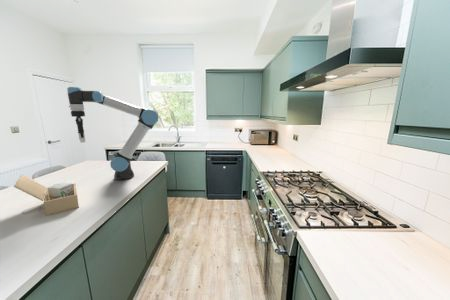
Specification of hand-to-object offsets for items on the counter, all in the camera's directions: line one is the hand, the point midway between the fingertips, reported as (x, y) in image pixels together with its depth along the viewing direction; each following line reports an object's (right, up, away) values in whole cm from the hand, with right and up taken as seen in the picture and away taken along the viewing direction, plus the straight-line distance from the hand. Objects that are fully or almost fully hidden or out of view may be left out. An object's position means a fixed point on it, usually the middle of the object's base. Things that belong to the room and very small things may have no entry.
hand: (82, 141), depth 136 cm
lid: (-6, -27, -29) cm, 40 cm away
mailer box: (+2, -39, -19) cm, 44 cm away
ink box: (+2, -39, -19) cm, 43 cm away
